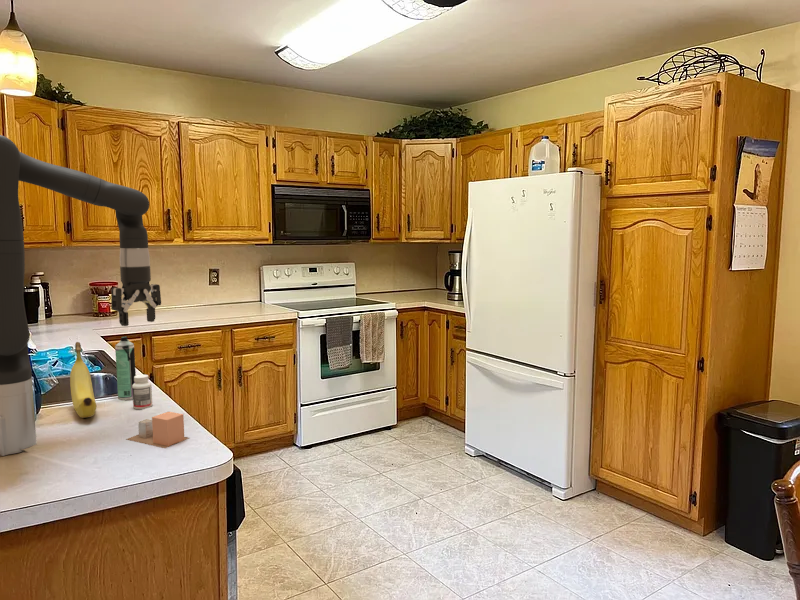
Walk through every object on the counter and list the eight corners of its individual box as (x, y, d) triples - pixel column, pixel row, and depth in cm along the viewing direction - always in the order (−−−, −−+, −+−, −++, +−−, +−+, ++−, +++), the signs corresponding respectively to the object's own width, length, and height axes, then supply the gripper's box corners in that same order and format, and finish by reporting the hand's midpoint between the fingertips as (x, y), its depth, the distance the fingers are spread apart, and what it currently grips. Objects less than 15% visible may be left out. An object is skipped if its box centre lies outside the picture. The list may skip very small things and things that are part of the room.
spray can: (140, 397, 189) (137, 336, 187) (124, 401, 184) (121, 338, 182) (130, 394, 192) (127, 334, 189) (114, 398, 187) (111, 337, 185)
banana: (101, 422, 164) (96, 352, 161) (77, 426, 161) (72, 354, 158) (91, 402, 182) (87, 340, 180) (70, 405, 179) (66, 342, 177)
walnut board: (165, 451, 142) (165, 448, 142) (125, 442, 148) (125, 439, 148) (190, 440, 149) (190, 437, 149) (151, 432, 155) (151, 429, 155)
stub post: (146, 438, 149) (145, 423, 148) (139, 436, 150) (138, 421, 149) (154, 435, 151) (153, 420, 150) (147, 433, 152) (146, 419, 152)
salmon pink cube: (168, 446, 143) (167, 420, 143) (153, 442, 146) (151, 417, 145) (184, 439, 148) (183, 414, 147) (169, 436, 150) (168, 411, 149)
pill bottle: (136, 404, 180) (135, 374, 179) (154, 404, 181) (153, 373, 180) (130, 410, 175) (128, 378, 174) (149, 409, 175) (147, 378, 174)
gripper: (121, 266, 151) (125, 328, 152) (165, 263, 163) (168, 321, 165) (102, 265, 154) (105, 326, 156) (147, 263, 167) (149, 319, 168)
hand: (138, 323), depth 160 cm, fingers open, 8 cm apart
